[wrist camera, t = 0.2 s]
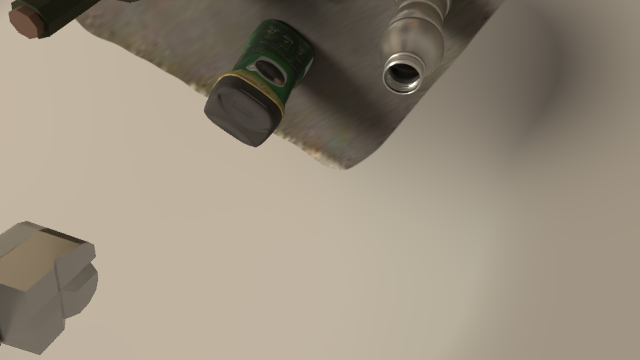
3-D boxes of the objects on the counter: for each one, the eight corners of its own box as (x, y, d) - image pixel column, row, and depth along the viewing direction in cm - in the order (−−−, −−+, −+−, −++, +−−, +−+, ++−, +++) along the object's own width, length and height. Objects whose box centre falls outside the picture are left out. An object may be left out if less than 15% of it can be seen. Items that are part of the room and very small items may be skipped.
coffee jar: (246, 45, 66) (189, 118, 54) (270, 8, 60) (212, 80, 48) (296, 83, 69) (253, 161, 57) (323, 51, 63) (281, 130, 51)
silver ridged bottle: (405, -44, 51) (372, 39, 38) (462, -33, 50) (448, 56, 37) (394, 8, 56) (361, 97, 43) (445, 19, 55) (428, 114, 42)
